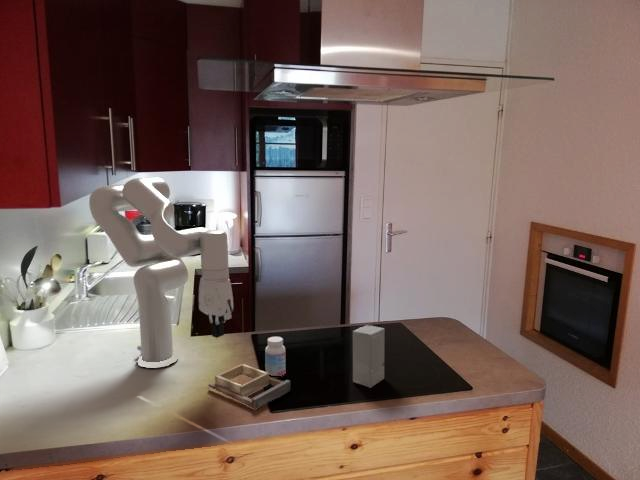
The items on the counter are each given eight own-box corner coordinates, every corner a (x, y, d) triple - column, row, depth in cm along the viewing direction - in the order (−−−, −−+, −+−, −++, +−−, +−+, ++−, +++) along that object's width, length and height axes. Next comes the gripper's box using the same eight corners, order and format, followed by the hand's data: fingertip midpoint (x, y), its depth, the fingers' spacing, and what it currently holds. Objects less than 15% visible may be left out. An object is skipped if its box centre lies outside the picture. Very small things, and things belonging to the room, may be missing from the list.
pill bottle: (282, 379, 150) (282, 343, 148) (262, 377, 151) (262, 342, 149) (287, 371, 156) (287, 336, 154) (268, 369, 157) (268, 334, 155)
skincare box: (370, 388, 145) (372, 336, 142) (349, 381, 149) (350, 330, 146) (385, 378, 151) (387, 327, 149) (365, 372, 156) (366, 322, 153)
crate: (215, 389, 143) (215, 376, 142) (242, 375, 151) (242, 363, 150) (242, 400, 136) (241, 386, 136) (269, 386, 145) (268, 373, 144)
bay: (208, 392, 142) (208, 380, 141) (244, 375, 153) (244, 364, 152) (255, 412, 131) (254, 400, 131) (290, 392, 142) (290, 380, 142)
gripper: (187, 273, 146) (191, 334, 149) (223, 280, 137) (226, 345, 140) (208, 268, 151) (210, 327, 154) (243, 275, 143) (245, 337, 146)
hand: (218, 335), depth 147 cm, fingers closed
